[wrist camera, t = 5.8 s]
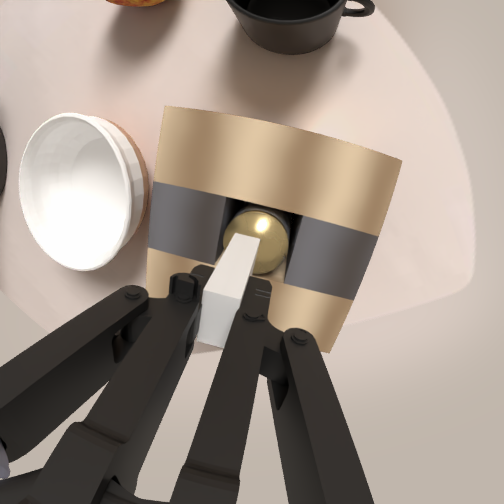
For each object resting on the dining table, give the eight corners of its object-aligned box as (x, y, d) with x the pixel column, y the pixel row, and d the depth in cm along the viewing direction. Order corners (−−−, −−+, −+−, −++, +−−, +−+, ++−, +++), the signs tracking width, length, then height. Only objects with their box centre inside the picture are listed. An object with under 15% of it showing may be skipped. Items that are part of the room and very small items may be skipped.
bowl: (171, 109, 27) (132, 105, 20) (167, 253, 34) (135, 285, 26) (61, 117, 29) (15, 122, 22) (66, 235, 35) (28, 258, 28)
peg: (241, 225, 29) (218, 264, 21) (250, 182, 28) (229, 205, 19) (285, 236, 29) (279, 280, 21) (296, 193, 27) (295, 221, 19)
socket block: (184, 257, 33) (145, 304, 24) (207, 112, 27) (164, 105, 18) (323, 293, 32) (329, 353, 23) (369, 150, 26) (402, 160, 17)
